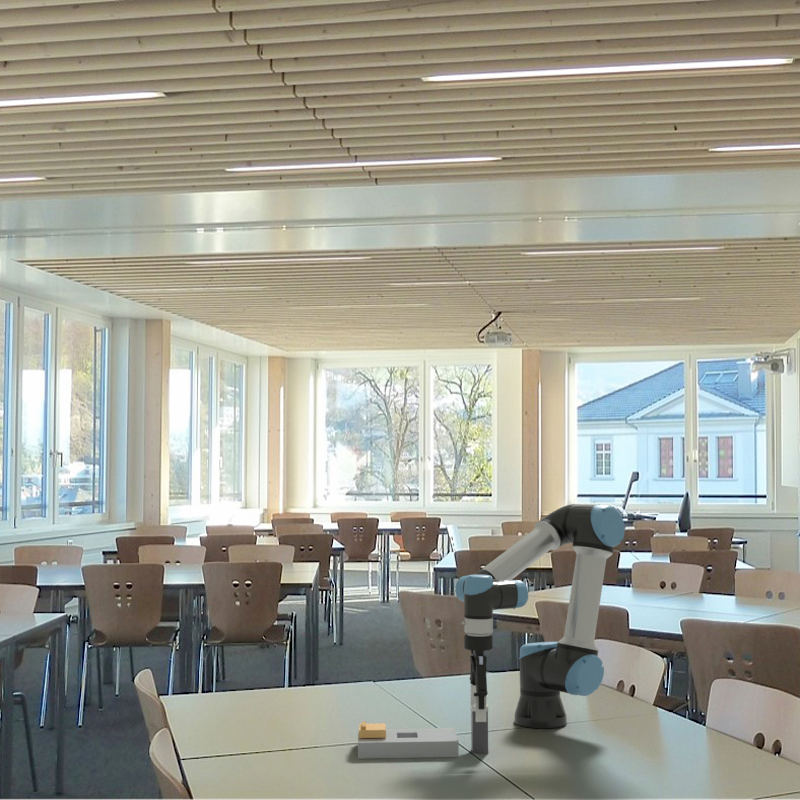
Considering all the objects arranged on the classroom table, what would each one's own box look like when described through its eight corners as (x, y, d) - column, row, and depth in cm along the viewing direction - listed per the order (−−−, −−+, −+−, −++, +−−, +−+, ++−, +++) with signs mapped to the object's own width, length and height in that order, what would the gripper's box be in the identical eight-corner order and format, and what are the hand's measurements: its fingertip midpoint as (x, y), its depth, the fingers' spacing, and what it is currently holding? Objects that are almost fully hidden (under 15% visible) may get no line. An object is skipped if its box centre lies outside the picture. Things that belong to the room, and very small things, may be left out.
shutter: (385, 731, 289) (385, 720, 290) (385, 737, 282) (385, 726, 283) (359, 731, 289) (359, 720, 289) (359, 738, 282) (359, 727, 282)
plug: (486, 749, 287) (486, 702, 287) (488, 753, 282) (488, 706, 283) (471, 749, 286) (470, 703, 287) (472, 753, 282) (472, 706, 283)
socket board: (454, 742, 293) (454, 727, 293) (458, 756, 279) (458, 741, 279) (358, 744, 292) (358, 729, 293) (357, 758, 278) (357, 742, 279)
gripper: (460, 627, 298) (460, 705, 297) (468, 641, 274) (468, 726, 272) (487, 627, 299) (487, 705, 297) (498, 641, 274) (498, 726, 272)
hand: (478, 715), depth 285 cm, fingers open, 13 cm apart
